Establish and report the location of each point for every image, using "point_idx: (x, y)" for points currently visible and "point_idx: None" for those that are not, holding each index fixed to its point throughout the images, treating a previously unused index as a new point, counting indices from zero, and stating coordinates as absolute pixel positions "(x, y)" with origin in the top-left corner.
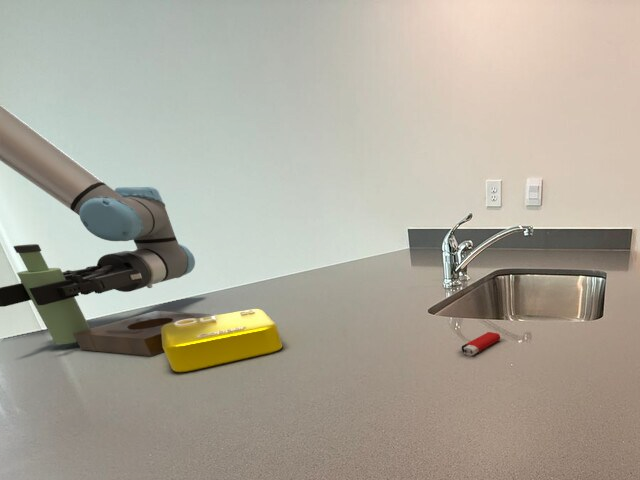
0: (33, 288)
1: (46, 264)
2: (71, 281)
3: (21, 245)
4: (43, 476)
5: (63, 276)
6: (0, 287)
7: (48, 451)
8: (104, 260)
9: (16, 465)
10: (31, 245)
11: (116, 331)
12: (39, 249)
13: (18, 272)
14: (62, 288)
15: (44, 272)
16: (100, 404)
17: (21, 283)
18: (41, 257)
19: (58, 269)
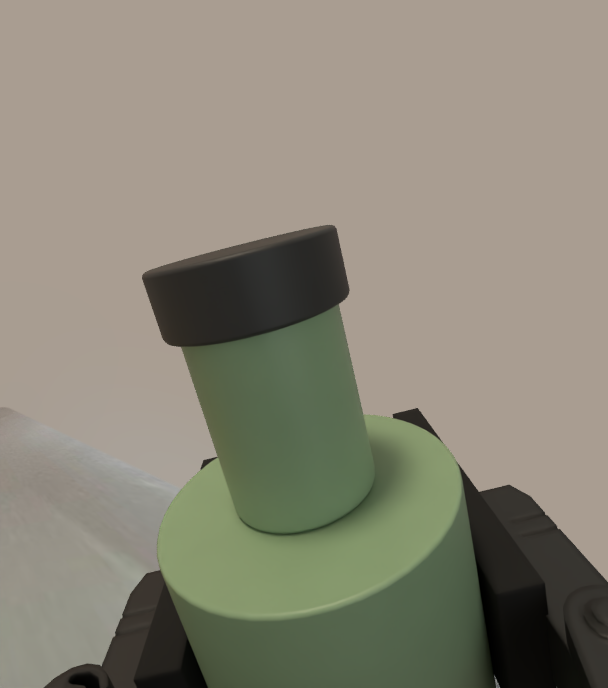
0: (205, 460)
1: (226, 475)
2: (143, 681)
3: (277, 237)
4: (44, 443)
5: (186, 634)
6: (431, 431)
7: (55, 456)
8: None
9: (74, 443)
10: (161, 266)
11: None
12: (159, 325)
13: (397, 422)
14: (151, 577)
15: (201, 474)
16: (31, 514)
17: (468, 504)
18: (200, 398)
19: (157, 551)
